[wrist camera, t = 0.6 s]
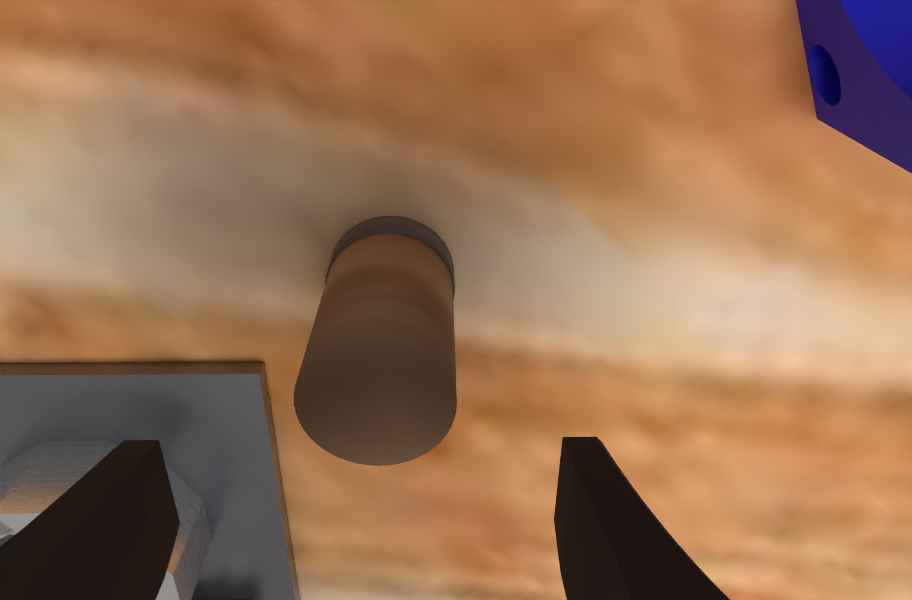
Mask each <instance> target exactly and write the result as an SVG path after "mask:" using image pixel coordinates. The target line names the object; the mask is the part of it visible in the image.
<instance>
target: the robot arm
mask: <svg viewBox="0 0 912 600" xmlns="http://www.w3.org/2000/svg"><path fill="white" fill-rule="evenodd" d="M554 523H555V531H556V540H557V548H558V556H559V563H560V571H561V576H562V580H563V585H564V589H565V593H566V597H567V600H730V599H729V598H728V597H727V596H726V595H725V594H724V593H723V592H722V591H721V590H720V589H719V588H718V587H717V586H716V585H715V584H714V583H713V582H712V581H711V580H710V579H709V578H708V577H707V576H706V575H705V574H704V572H703V571H702V570H701V569H700V568H699V567H698V566H697V565H696V564H695V563H694V561H693V560H692V559H691V558H690V557H689V556H688V555H687V554H686V552H685V551H684V550H683V549H682V548H681V547H680V546H679V545H678V543H677V542H676V541H675V540H674V539H673V537H672V536H671V535H670V534H669V533H668V532H667V530H666V529H665V528H664V527H663V525H662V524H661V523H660V522H659V520H658V519H657V518H656V517H655V515H654V514H653V513H652V512H651V510H650V509H649V508H648V506H647V505H646V504H645V503H644V501H643V500H642V499H641V497H640V496H639V495H638V493H637V492H636V491H635V489H634V488H633V487H632V485H631V484H630V482H629V481H628V480H627V478H626V477H625V476H624V474H623V473H622V471H621V470H620V468H619V467H618V466H617V464H616V463H615V461H614V460H613V458H612V457H611V455H610V454H609V452H608V451H607V449H606V448H605V446H604V445H603V443H602V442H601V441H600V440H599V439H598V438H597V437H563V439H562V449H561V458H560V468H559V477H558V487H557V496H556V506H555V515H554ZM179 526H180V520H179V516H178V512H177V508H176V504H175V500H174V497H173V493H172V489H171V485H170V481H169V477H168V473H167V470H166V466H165V462H164V458H163V454H162V450H161V446H160V442H159V440H124V441H123V442H122V443H120V444H119V445H118V446H117V447H116V448H114V449H113V450H112V451H111V452H110V453H109V454H108V455H106V456H105V457H104V458H103V459H102V460H101V461H100V462H99V463H97V464H96V465H95V466H94V467H93V468H92V469H91V470H90V471H88V472H87V473H86V474H85V475H84V476H83V477H82V478H81V479H79V480H78V481H77V482H76V483H75V484H74V485H73V486H72V487H70V488H69V489H68V490H67V491H66V492H65V493H64V494H62V495H61V496H60V497H59V498H58V499H57V500H55V501H54V502H53V503H52V504H51V505H50V506H49V507H47V508H46V509H45V510H44V511H43V512H42V513H40V514H39V515H38V516H37V517H36V518H35V519H34V520H32V521H31V522H30V523H29V524H28V525H26V526H25V527H24V528H23V529H22V530H20V531H19V532H18V533H17V534H15V535H14V536H13V537H12V538H10V539H9V540H8V541H7V542H5V543H4V544H3V545H2V546H0V600H156V598H157V595H158V593H159V591H160V588H161V586H162V583H163V581H164V578H165V575H166V572H167V569H168V565H169V562H170V558H171V555H172V552H173V548H174V544H175V540H176V537H177V533H178V529H179Z"/></svg>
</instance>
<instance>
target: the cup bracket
mask: <svg viewBox="0 0 912 600" xmlns="http://www.w3.org/2000/svg"><path fill="white" fill-rule="evenodd" d="M124 440H159V442H160V446H161V450H162V454H163V458H164V462H165V466H166V470H167V473H168V477H169V481H170V485H171V489H172V493H173V497H174V500H175V504H176V508H177V512H178V516H179V520H180V526H179V529H178V533H177V537H176V540H175V544H174V548H173V552H172V555H171V558H170V562H169V565H168V569H167V572H166V575H165V578H164V581H163V583H162V586H161V588H160V591H159V593H158V595H157V598H156V600H300V598H299V591H298V585H297V578H296V572H295V565H294V558H293V552H292V545H291V539H290V532H289V526H288V519H287V512H286V506H285V499H284V493H283V486H282V479H281V473H280V466H279V460H278V453H277V447H276V440H275V433H274V427H273V420H272V414H271V407H270V400H269V394H268V387H267V381H266V374H265V368H264V362H260V363H55V364H0V546H2V545H3V544H4V543H5V542H7V541H8V540H9V539H10V538H12V537H13V536H14V535H15V534H17V533H18V532H19V531H20V530H22V529H23V528H24V527H25V526H26V525H28V524H29V523H30V522H31V521H32V520H34V519H35V518H36V517H37V516H38V515H39V514H40V513H42V512H43V511H44V510H45V509H46V508H47V507H49V506H50V505H51V504H52V503H53V502H54V501H55V500H57V499H58V498H59V497H60V496H61V495H62V494H64V493H65V492H66V491H67V490H68V489H69V488H70V487H72V486H73V485H74V484H75V483H76V482H77V481H78V480H79V479H81V478H82V477H83V476H84V475H85V474H86V473H87V472H88V471H90V470H91V469H92V468H93V467H94V466H95V465H96V464H97V463H99V462H100V461H101V460H102V459H103V458H104V457H105V456H106V455H108V454H109V453H110V452H111V451H112V450H113V449H114V448H116V447H117V446H118V445H119V444H120V443H122V442H123V441H124Z"/></svg>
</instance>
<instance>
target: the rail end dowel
mask: <svg viewBox="0 0 912 600" xmlns="http://www.w3.org/2000/svg"><path fill="white" fill-rule="evenodd" d="M454 292H455V286H454V266H453V261H452V258H451V255H450V252H449V250H448V249H447V247H446V245H445V244H444V242H443V241H442V240H441V238H440V237H439V236H438V235H437V234H436V233H435V232H433V231H432V230H431V229H430V228H428V227H426V226H425V225H423V224H421V223H419V222H417V221H414V220H411V219H408V218H403V217H396V216H385V217H377V218H373V219H369V220H366V221H364V222H362V223H360V224H358V225H356V226H355V227H353V228H352V229H350V230H349V231H348V232H347V233H346V234H345V235H344V236H343V237H342V238H341V239H340V241H339V242H338V244H337V246H336V248H335V250H334V252H333V255H332V258H331V262H330V265H329V268H328V272H327V275H326V282H325V288H324V292H323V295H322V298H321V302H320V305H319V308H318V312H317V315H316V318H315V322H314V325H313V328H312V332H311V335H310V338H309V342H308V345H307V348H306V352H305V355H304V358H303V362H302V365H301V368H300V372H299V375H298V378H297V382H296V385H295V390H294V406H295V411H296V414H297V417H298V420H299V422H300V424H301V425H302V427H303V429H304V430H305V432H306V433H307V434H308V436H309V437H310V438H311V439H312V440H313V441H314V442H315V443H316V444H318V445H319V446H320V447H321V448H323V449H324V450H326V451H327V452H329V453H331V454H333V455H335V456H337V457H339V458H341V459H344V460H347V461H350V462H354V463H358V464H365V465H378V466H381V465H392V464H399V463H403V462H406V461H410V460H412V459H415V458H417V457H419V456H421V455H423V454H425V453H427V452H428V451H430V450H431V449H433V448H434V447H435V446H436V445H437V444H438V443H439V442H440V441H441V440H442V439H443V438H444V437H445V436H446V434H447V433H448V431H449V429H450V428H451V426H452V423H453V421H454V418H455V414H456V406H457V397H456V368H455V338H454V309H453V300H454Z"/></svg>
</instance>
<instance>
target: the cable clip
mask: <svg viewBox="0 0 912 600" xmlns="http://www.w3.org/2000/svg"><path fill="white" fill-rule="evenodd" d="M796 4H797V10H798V15H799V21H800V26H801V32H802V37H803V43H804V48H805V54H806V59H807V65H808V70H809V76H810V81H811V87H812V93H813V98H814V104H815V109H816V115H817V119H818V120H820V121H822V122H824V123H825V124H827V125H829V126H831V127H832V128H834V129H836V130H837V131H839V132H841V133H843V134H844V135H846V136H848V137H850V138H851V139H853V140H855V141H857V142H858V143H860V144H862V145H863V146H865V147H867V148H869V149H870V150H872V151H874V152H876V153H877V154H879V155H881V156H883V157H884V158H886V159H888V160H889V161H891V162H893V163H895V164H896V165H898V166H900V167H902V168H903V169H905V170H907V171H909V172H910V173H912V0H796Z"/></svg>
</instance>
